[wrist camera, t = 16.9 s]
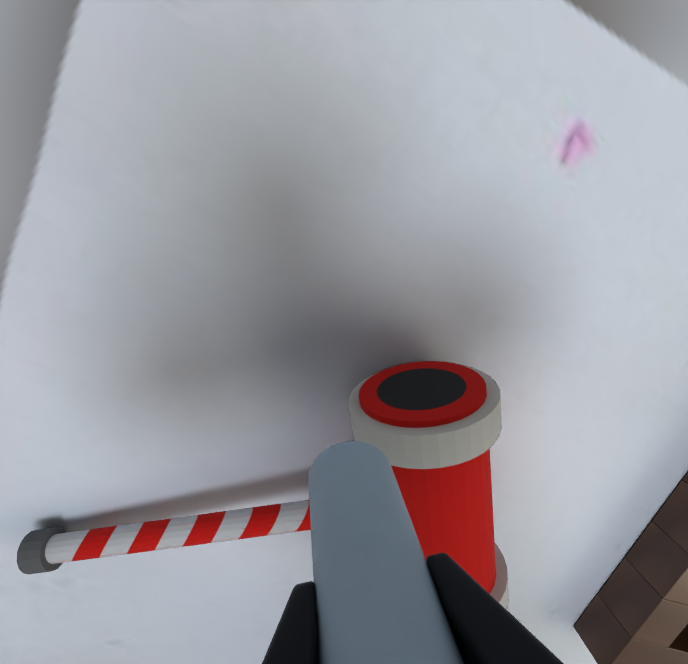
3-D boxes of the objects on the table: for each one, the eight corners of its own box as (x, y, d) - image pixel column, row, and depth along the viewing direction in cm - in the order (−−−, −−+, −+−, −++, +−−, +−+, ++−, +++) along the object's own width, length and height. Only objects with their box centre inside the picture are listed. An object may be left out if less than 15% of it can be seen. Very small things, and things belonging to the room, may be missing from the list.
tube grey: (330, 530, 13) (442, 1519, 3) (285, 463, 12) (254, 1532, 2) (411, 489, 13) (778, 1387, 3) (372, 419, 12) (708, 1351, 2)
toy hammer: (83, 618, 24) (13, 762, 18) (-6, 439, 20) (-133, 546, 14) (477, 530, 25) (535, 635, 19) (463, 347, 21) (531, 407, 15)
